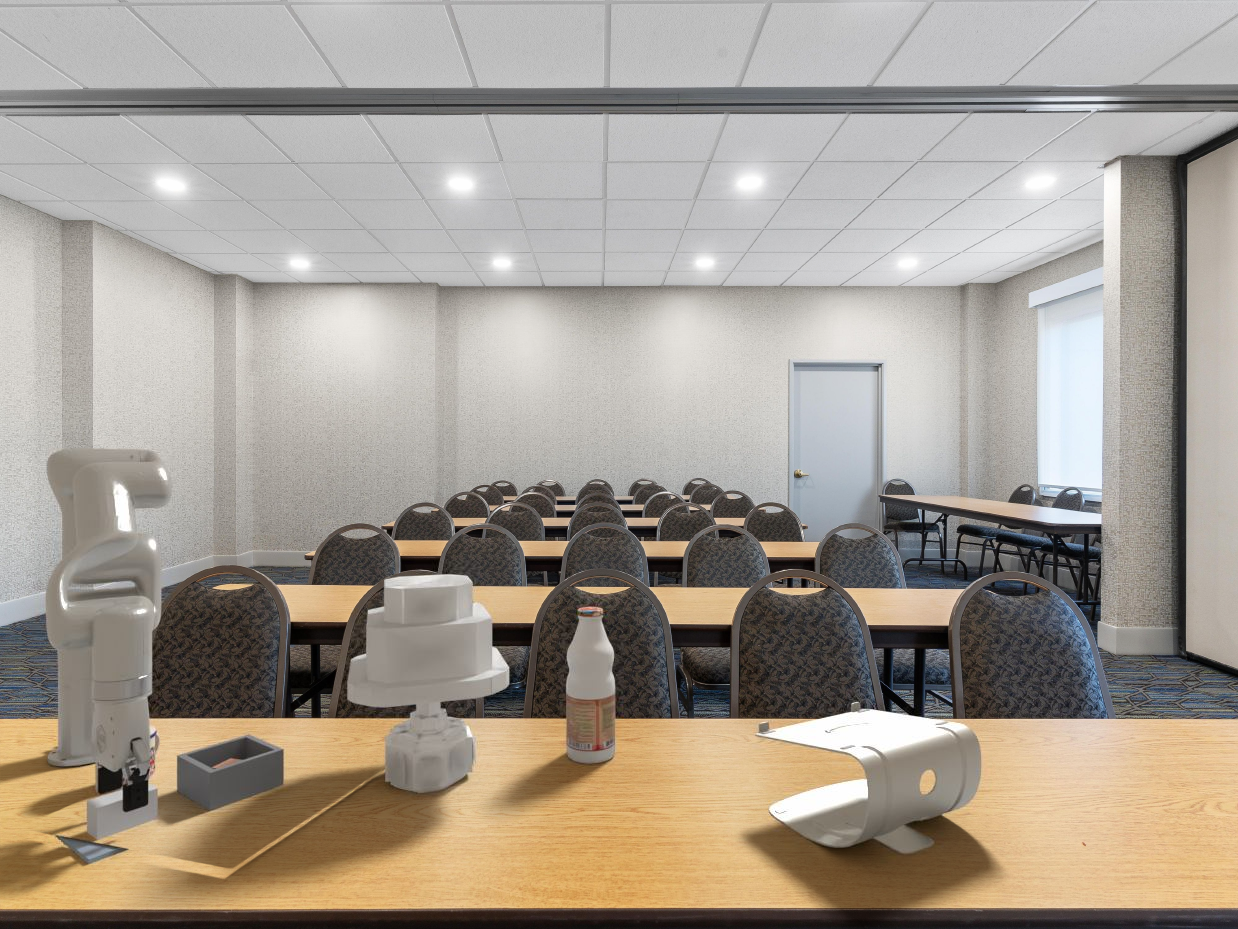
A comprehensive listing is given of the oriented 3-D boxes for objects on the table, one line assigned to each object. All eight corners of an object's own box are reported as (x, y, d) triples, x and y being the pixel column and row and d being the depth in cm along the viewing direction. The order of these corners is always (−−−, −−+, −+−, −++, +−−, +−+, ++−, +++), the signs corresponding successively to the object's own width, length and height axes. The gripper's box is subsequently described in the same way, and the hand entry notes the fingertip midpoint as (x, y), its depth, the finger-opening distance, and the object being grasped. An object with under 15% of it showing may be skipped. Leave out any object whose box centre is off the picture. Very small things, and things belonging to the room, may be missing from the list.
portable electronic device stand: (864, 879, 97) (863, 762, 97) (751, 806, 117) (751, 711, 118) (986, 832, 109) (985, 729, 109) (865, 774, 130) (864, 688, 130)
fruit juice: (570, 767, 133) (569, 614, 134) (563, 747, 143) (562, 605, 143) (620, 762, 135) (619, 612, 136) (609, 743, 145) (609, 603, 145)
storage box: (177, 797, 122) (177, 755, 122) (248, 773, 131) (248, 734, 131) (210, 817, 115) (210, 773, 115) (283, 790, 124) (283, 749, 124)
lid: (55, 840, 109) (55, 799, 109) (151, 807, 119) (151, 769, 119) (88, 868, 101) (88, 823, 101) (188, 830, 112) (188, 789, 112)
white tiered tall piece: (351, 758, 138) (351, 574, 138) (493, 741, 146) (492, 568, 146) (344, 823, 112) (344, 597, 113) (516, 798, 121) (515, 588, 121)
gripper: (73, 682, 112) (73, 793, 112) (116, 705, 102) (116, 826, 102) (128, 671, 119) (128, 776, 119) (174, 691, 108) (174, 806, 108)
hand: (122, 799), depth 110 cm, fingers open, 9 cm apart
